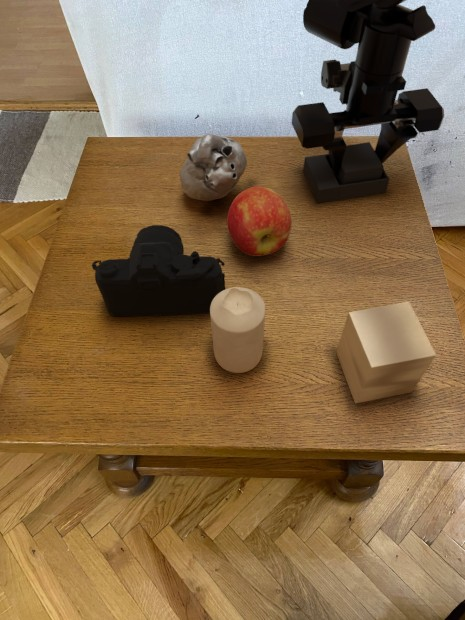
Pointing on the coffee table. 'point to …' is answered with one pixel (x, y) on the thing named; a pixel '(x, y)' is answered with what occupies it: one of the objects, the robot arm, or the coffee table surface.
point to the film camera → (159, 277)
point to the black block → (360, 164)
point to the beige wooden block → (383, 351)
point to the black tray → (328, 186)
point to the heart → (212, 167)
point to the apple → (259, 221)
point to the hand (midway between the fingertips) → (354, 170)
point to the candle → (237, 328)
